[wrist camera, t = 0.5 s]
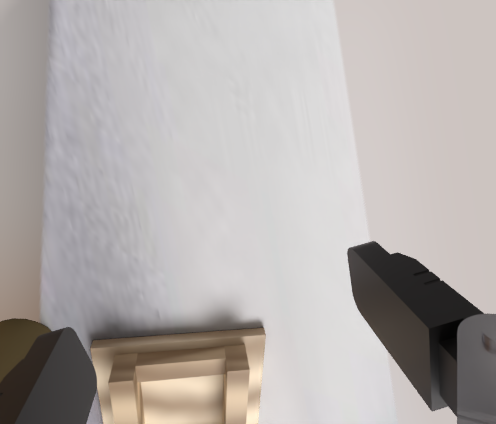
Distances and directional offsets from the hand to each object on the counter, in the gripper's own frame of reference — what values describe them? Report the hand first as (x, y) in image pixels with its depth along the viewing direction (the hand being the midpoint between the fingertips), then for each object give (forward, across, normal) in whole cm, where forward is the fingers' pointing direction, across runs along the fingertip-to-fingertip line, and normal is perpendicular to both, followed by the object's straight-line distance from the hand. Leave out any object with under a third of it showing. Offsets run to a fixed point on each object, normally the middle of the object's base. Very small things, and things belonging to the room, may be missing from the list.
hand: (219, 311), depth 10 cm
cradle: (+20, +8, +23) cm, 31 cm away
